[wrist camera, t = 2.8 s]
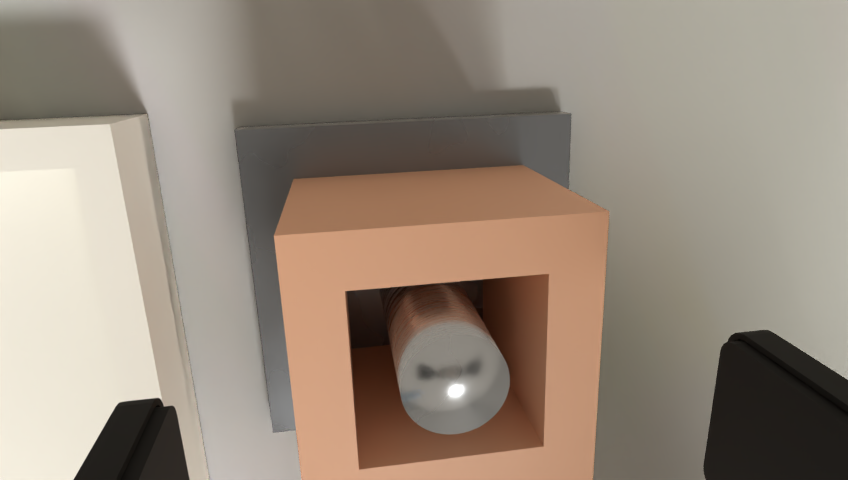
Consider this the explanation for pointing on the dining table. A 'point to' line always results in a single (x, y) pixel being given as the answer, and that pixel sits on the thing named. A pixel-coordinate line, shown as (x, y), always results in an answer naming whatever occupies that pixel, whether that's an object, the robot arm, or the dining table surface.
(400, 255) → the collar
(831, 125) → the dining table surface
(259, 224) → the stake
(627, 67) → the dining table surface
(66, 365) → the tray
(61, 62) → the dining table surface
